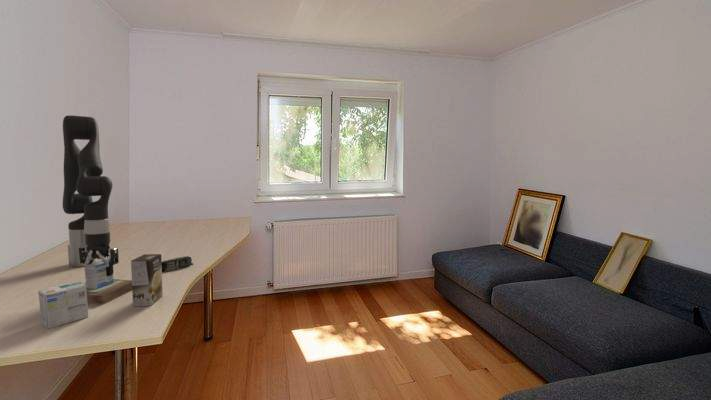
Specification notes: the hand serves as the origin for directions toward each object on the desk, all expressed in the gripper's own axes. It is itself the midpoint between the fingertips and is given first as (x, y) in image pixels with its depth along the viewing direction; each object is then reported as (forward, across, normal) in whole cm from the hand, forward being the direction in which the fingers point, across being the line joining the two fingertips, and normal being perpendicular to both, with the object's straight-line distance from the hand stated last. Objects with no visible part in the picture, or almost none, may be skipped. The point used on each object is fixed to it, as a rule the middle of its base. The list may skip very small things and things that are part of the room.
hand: (100, 275), depth 135 cm
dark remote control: (+8, +8, +35) cm, 36 cm away
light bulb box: (+8, +6, -21) cm, 23 cm away
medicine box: (+4, 0, 0) cm, 4 cm away
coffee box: (+8, +21, -3) cm, 23 cm away
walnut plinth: (+7, 0, 0) cm, 7 cm away
